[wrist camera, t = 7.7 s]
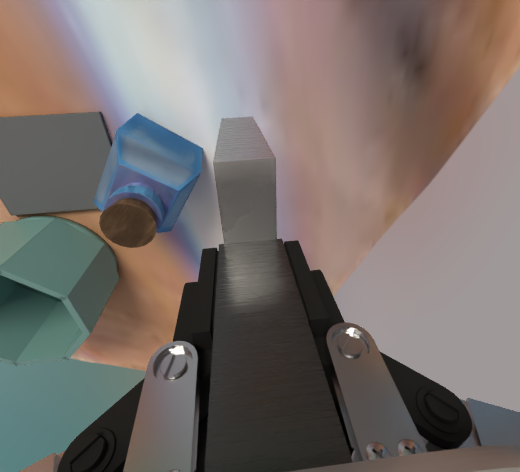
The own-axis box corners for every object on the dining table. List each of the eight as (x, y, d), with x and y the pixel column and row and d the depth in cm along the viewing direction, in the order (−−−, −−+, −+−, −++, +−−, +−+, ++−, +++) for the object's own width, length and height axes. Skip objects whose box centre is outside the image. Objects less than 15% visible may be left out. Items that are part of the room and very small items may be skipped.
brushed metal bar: (255, 116, 17) (502, 505, 2) (261, 234, 22) (337, 617, 6) (218, 118, 17) (97, 568, 1) (232, 237, 21) (238, 635, 6)
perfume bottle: (177, 199, 28) (160, 276, 18) (116, 172, 25) (58, 246, 16) (202, 148, 25) (198, 207, 16) (137, 113, 23) (83, 157, 13)
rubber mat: (100, 111, 23) (98, 112, 23) (132, 204, 28) (131, 206, 27) (-46, 119, 22) (-50, 120, 22) (13, 213, 27) (11, 215, 27)
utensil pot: (96, 210, 28) (46, 263, 20) (131, 292, 34) (104, 355, 27) (-26, 219, 27) (-125, 278, 20) (34, 302, 34) (-22, 369, 26)
